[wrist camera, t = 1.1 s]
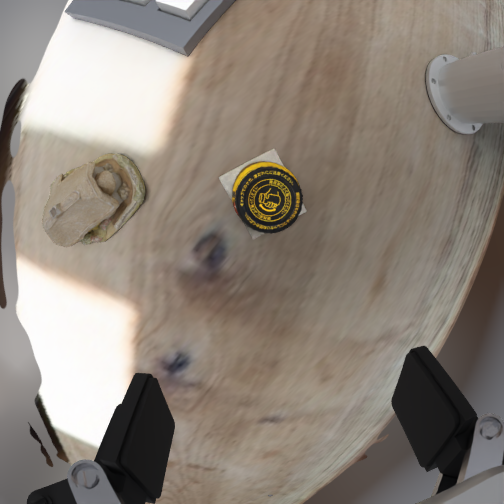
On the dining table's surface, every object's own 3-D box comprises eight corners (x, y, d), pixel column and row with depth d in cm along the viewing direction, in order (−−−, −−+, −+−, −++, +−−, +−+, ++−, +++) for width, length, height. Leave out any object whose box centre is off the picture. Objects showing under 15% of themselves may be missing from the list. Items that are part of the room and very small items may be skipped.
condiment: (274, 148, 31) (289, 141, 20) (306, 211, 33) (336, 238, 22) (218, 177, 32) (203, 187, 21) (252, 238, 34) (256, 279, 23)
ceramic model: (84, 256, 35) (45, 285, 25) (49, 190, 32) (3, 203, 22) (159, 205, 33) (128, 224, 23) (119, 130, 30) (76, 124, 20)
